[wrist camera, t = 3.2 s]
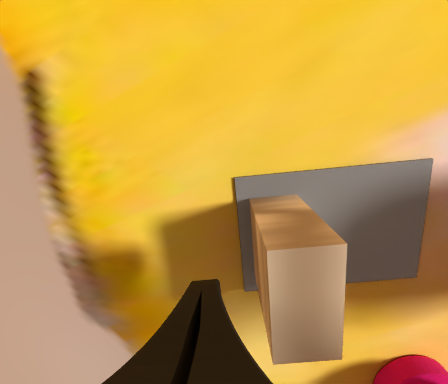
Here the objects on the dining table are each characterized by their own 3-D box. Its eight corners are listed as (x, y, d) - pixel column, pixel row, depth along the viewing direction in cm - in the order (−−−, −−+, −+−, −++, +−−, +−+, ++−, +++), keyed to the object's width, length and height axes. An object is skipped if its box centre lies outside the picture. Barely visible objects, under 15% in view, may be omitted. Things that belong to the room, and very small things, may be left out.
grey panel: (430, 158, 16) (433, 158, 16) (414, 275, 18) (416, 277, 18) (234, 177, 16) (234, 178, 16) (244, 289, 19) (244, 291, 18)
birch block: (254, 274, 18) (273, 364, 11) (249, 198, 16) (266, 250, 10) (297, 270, 18) (341, 359, 11) (296, 194, 16) (347, 243, 9)
